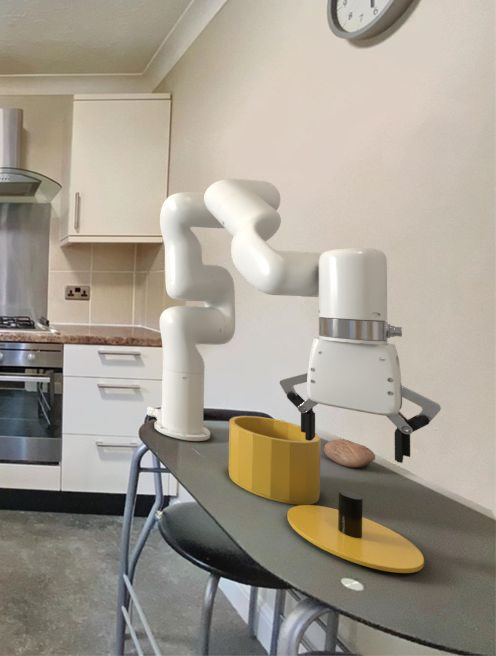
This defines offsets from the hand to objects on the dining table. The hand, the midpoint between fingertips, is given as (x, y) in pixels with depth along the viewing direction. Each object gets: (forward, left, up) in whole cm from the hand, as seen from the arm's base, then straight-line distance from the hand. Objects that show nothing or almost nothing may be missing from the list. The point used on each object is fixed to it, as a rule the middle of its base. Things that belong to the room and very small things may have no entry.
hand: (352, 448), depth 59 cm
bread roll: (-4, +37, -14) cm, 40 cm away
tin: (-12, +11, -13) cm, 21 cm away
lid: (0, 0, -13) cm, 13 cm away
